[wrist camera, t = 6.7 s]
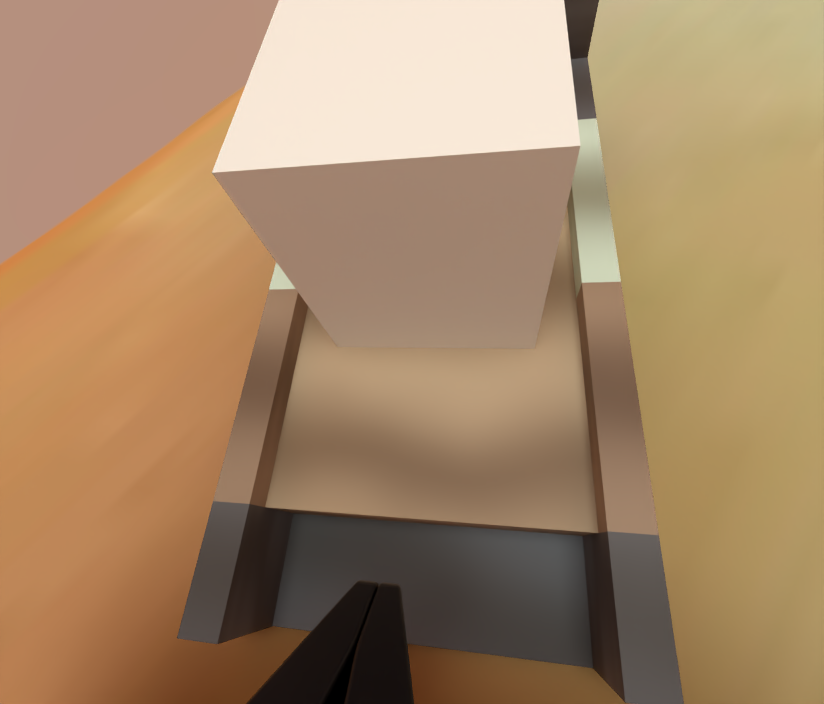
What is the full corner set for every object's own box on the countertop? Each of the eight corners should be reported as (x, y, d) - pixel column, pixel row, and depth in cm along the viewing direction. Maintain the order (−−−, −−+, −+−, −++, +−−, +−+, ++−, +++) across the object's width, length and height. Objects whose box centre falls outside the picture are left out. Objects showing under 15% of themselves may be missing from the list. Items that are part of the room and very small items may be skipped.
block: (534, 348, 14) (580, 145, 7) (337, 346, 16) (211, 172, 8) (527, 158, 18) (553, -98, 11) (369, 169, 19) (300, -54, 12)
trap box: (634, 671, 12) (747, 761, 7) (244, 620, 14) (101, 658, 9) (571, 112, 22) (597, -26, 17) (346, 132, 25) (307, 16, 19)
